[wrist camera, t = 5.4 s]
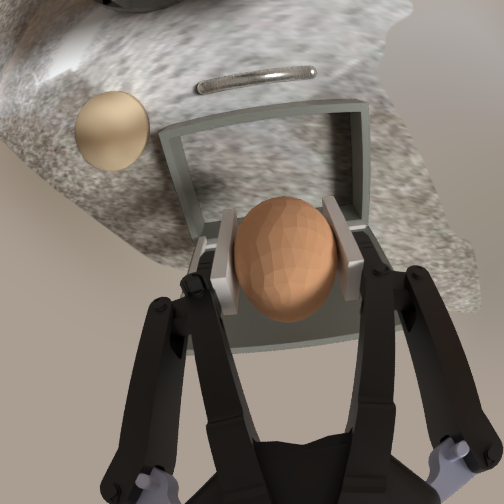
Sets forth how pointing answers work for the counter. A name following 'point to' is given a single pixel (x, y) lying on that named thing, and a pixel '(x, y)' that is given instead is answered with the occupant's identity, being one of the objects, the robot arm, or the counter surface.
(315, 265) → the egg
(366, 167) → the grey hinged box
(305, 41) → the counter surface
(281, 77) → the rod
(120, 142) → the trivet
